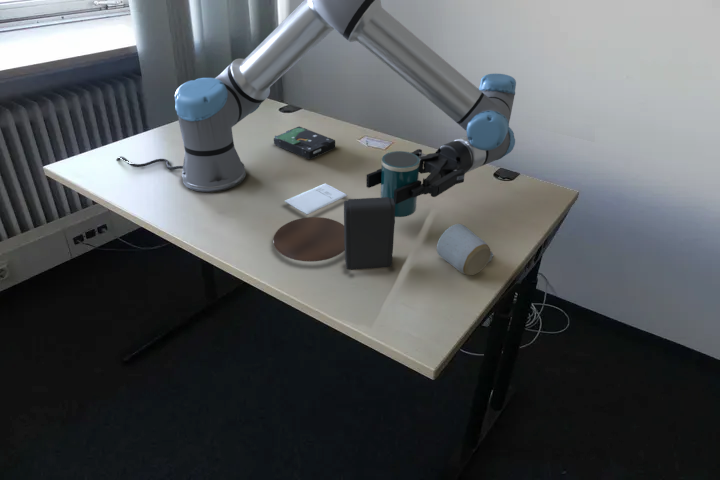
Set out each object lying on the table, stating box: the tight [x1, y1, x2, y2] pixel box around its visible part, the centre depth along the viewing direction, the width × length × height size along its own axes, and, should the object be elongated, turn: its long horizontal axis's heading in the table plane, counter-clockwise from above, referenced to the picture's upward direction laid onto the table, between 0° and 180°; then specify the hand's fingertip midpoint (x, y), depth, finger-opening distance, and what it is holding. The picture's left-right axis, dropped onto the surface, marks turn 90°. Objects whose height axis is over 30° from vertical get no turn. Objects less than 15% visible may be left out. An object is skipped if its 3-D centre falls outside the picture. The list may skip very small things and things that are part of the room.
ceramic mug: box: [436, 223, 494, 276], centre depth 100 cm, size 11×8×8 cm
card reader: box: [343, 196, 396, 271], centre depth 96 cm, size 9×4×15 cm, turn 97°
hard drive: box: [283, 183, 348, 216], centre depth 120 cm, size 2×8×12 cm
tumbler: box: [380, 150, 420, 218], centre depth 104 cm, size 8×8×11 cm
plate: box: [272, 216, 345, 262], centre depth 107 cm, size 16×16×1 cm
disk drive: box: [273, 125, 336, 160], centre depth 145 cm, size 10×3×15 cm
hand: (381, 189), depth 101 cm, fingers closed on tumbler, 7 cm apart
